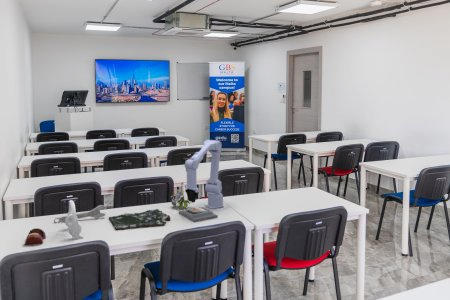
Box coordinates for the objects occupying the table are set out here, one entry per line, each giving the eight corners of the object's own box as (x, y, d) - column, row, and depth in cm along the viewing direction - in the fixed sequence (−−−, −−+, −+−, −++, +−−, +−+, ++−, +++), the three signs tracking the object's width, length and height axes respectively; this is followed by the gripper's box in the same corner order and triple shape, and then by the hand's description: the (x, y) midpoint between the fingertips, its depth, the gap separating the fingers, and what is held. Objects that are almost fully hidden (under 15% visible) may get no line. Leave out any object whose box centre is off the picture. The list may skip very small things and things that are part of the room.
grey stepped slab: (201, 209, 264) (200, 204, 263) (217, 217, 247) (217, 212, 247) (178, 213, 255) (178, 208, 255) (194, 222, 239) (194, 216, 238)
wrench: (55, 227, 238) (107, 216, 247) (55, 228, 237) (108, 217, 246) (52, 214, 237) (105, 204, 246) (52, 215, 235) (105, 204, 244)
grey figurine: (65, 229, 227) (63, 197, 224) (78, 227, 230) (77, 196, 227) (68, 241, 209) (66, 207, 206) (83, 238, 212) (81, 205, 209)
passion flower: (173, 216, 268) (167, 198, 273) (191, 211, 273) (184, 193, 277) (176, 210, 257) (169, 191, 262) (194, 205, 262) (187, 186, 266)
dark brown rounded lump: (23, 234, 201) (28, 226, 212) (23, 246, 201) (28, 238, 213) (42, 233, 203) (46, 226, 214) (42, 246, 204) (46, 237, 215)
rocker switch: (201, 210, 257) (202, 207, 256) (207, 212, 251) (208, 210, 251) (187, 209, 251) (188, 206, 251) (193, 212, 245) (193, 209, 245)
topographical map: (108, 219, 245) (108, 214, 244) (162, 212, 259) (162, 208, 258) (117, 233, 222) (116, 228, 221) (175, 225, 235) (175, 220, 235)
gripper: (180, 178, 250) (180, 199, 252) (191, 182, 237) (191, 205, 240) (190, 176, 253) (190, 198, 255) (202, 181, 241) (202, 203, 243)
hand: (191, 201), depth 248 cm, fingers open, 3 cm apart
